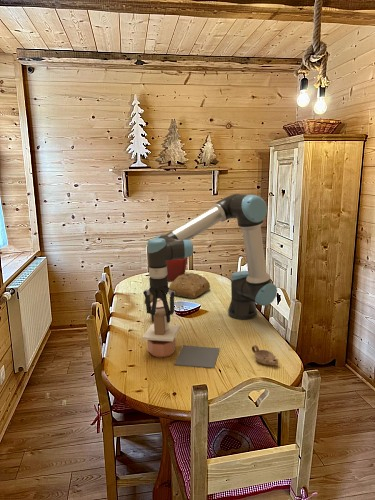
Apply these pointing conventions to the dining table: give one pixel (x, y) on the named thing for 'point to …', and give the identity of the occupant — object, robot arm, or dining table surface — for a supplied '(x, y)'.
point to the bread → (189, 285)
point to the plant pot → (176, 268)
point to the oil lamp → (264, 356)
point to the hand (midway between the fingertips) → (161, 328)
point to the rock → (152, 298)
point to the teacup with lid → (158, 306)
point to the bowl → (161, 348)
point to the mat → (197, 356)
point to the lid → (161, 329)
